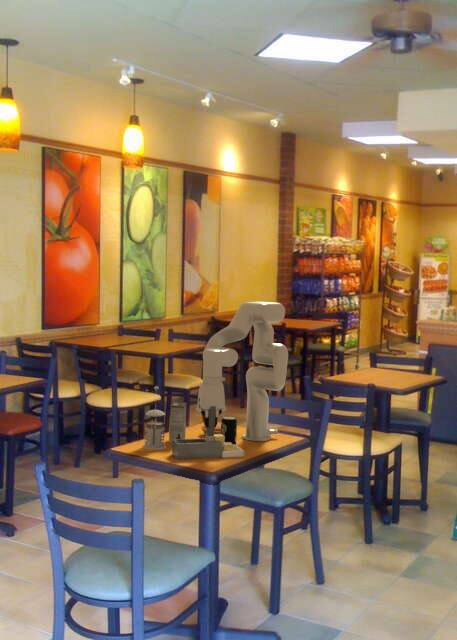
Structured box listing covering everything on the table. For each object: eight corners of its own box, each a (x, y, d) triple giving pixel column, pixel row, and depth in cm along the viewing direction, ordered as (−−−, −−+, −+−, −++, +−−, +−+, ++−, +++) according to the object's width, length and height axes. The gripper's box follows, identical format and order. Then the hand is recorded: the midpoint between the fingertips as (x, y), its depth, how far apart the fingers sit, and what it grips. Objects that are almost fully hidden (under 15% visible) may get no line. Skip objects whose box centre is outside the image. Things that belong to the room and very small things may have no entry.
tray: (234, 450, 314) (234, 444, 314) (244, 457, 304) (244, 450, 304) (213, 451, 311) (213, 445, 311) (222, 458, 301) (222, 451, 301)
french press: (167, 444, 320) (169, 384, 318) (165, 451, 308) (167, 389, 307) (143, 443, 320) (145, 383, 318) (140, 450, 308) (142, 388, 307)
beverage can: (234, 448, 318) (235, 419, 317) (218, 446, 319) (220, 418, 318) (237, 444, 324) (238, 416, 323) (222, 443, 326) (223, 415, 325)
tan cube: (221, 443, 307) (221, 434, 307) (224, 446, 303) (224, 436, 303) (211, 444, 306) (211, 434, 306) (214, 446, 302) (215, 436, 302)
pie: (201, 431, 348) (201, 420, 348) (235, 433, 348) (236, 422, 348) (199, 439, 333) (200, 427, 332) (235, 440, 332) (236, 429, 332)
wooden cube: (220, 452, 308) (229, 452, 309) (223, 454, 304) (232, 454, 305) (221, 442, 307) (230, 442, 309) (224, 444, 304) (233, 444, 305)
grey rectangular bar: (210, 442, 307) (213, 403, 304) (213, 446, 303) (216, 406, 301) (205, 443, 306) (207, 404, 303) (208, 446, 302) (210, 406, 300)
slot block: (215, 452, 309) (215, 437, 309) (221, 457, 302) (222, 442, 301) (171, 454, 303) (172, 439, 303) (177, 459, 296) (177, 444, 295)
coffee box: (170, 439, 330) (172, 401, 329) (185, 439, 330) (186, 402, 329) (168, 443, 321) (169, 405, 320) (183, 444, 321) (185, 406, 320)
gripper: (228, 378, 308) (226, 424, 310) (189, 379, 303) (188, 425, 304) (234, 381, 301) (232, 428, 303) (195, 382, 296) (193, 429, 297)
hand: (210, 426), depth 304 cm, fingers closed on grey rectangular bar, 2 cm apart
